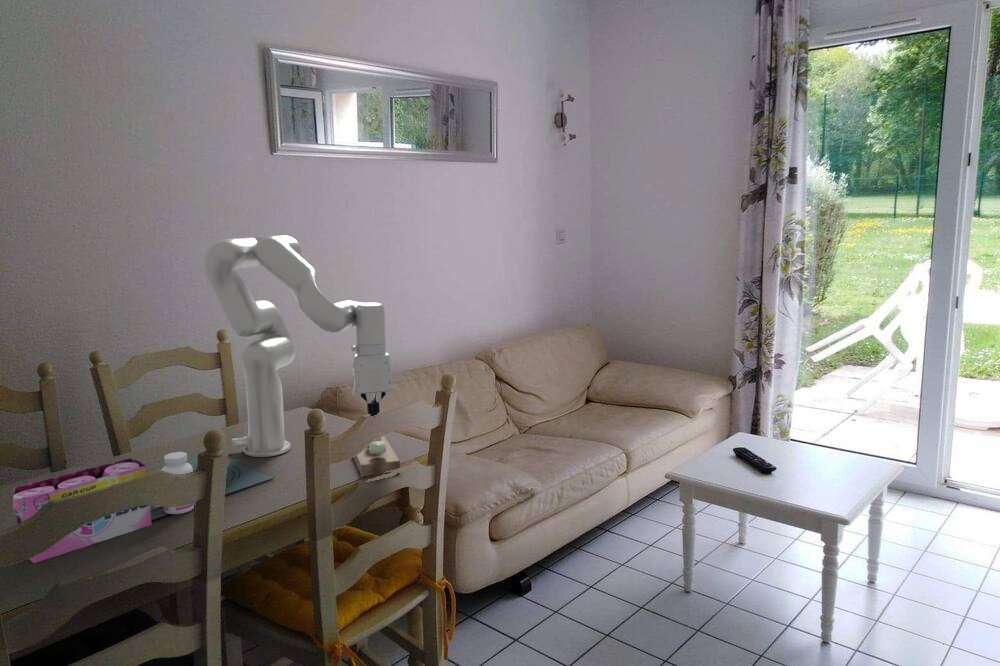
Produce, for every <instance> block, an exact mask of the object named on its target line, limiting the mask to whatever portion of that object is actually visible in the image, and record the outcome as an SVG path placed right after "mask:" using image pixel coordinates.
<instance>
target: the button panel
mask: <svg viewBox="0 0 1000 666" xmlns="http://www.w3.org/2000/svg"><path fill="white" fill-rule="evenodd" d="M381 441H382V442H385V443H386V452H385V453H382V454H372V453H370V452H369V446H368V447H367V448H366V449H365V450H364V451H362V452H361V453H360V454H358V455H356V456H355V457H354V458H353V461H354V460H355V461H354V462H356V463H355V465H356V464H357V465H356V467H357V466H358V468H359V470H358V471H360V472H359V474H360V473H361V474H360V476H361V475H366V476H367V477H368V476H376V475H382V474H381V473H384V472H386V471H390V470H394V469H397V468H400V469H401V461H400V458H399V457H398V456H397V454H396V451H394V449H393V447H392V446H391V444H390V443H389V441H388V440H387V438H386V436H385V435H384V436H383V437H381ZM358 468H357V469H358ZM366 476H365V477H366Z"/></svg>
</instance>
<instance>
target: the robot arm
mask: <svg viewBox="0 0 1000 666" xmlns="http://www.w3.org/2000/svg"><path fill="white" fill-rule="evenodd" d="M261 267H263V268H264V269H266V270H267V271H268V272H269V273H270V274H272V275H273V276H274V277H275V278H276V279H277V280H278V281H279V282H281V283H282V284H283V285H284V286H285V287H286V288H287V289H289V290H290V291H291V292H292V294H293V296H294V300H295V301H296V303H297V306H299V308H300V310H301V311H302V313H303V314H304V315H305V316H306V317H307V318H309V320H310V321H312V322H313V323H314V324H315V325H316V326H317V327H319V328H320V329H322V331H324V332H326V333H330V334H339V333H342V332H345V331H347V330H350V329H351V330H352V329H354V328H355V330H356V336H355V337H356V344H355V345H353V346H351V348H350V350H351V352H356V354H354V357H353V367H352V387H353V389H352V396H353V397H354V398H355V397H356V398H362V399H363V400H364V402H366V403H367V405H366V407H367V410H366V411H367V415H369V416H370V417H371V416H374V415H377V414H380V403H381V401H382V399H383V398H384V397H385V396H387V395H391V394H393V393H394V389H393V387H394V386H393V385H394V383H393V381H394V380H393V369H392V364H391V363H392V362H391V357H390V354H389V353H388V352H387V349H386V348H387V347H386V345H387V344H386V320H385V319H386V318H385V317H386V316H385V307H384V305H383V304H382V303H379V302H360V301H354V300H343V301H338V302H335V303H333V301H331V300H330V299H328V298H327V297H326V296H325V295H324V294H323V293H322V291H321V290H320V289H319V288H318V287H317V284H316V277H317V272H316V271H317V270H316V269H315V268H314V267H313V266H312V265H311V264H309V262H308V261H306V260H305V259H304V258H303V257H302V247H301V245H300V243H299V242H298V241H297V239H295V238H293V237H292V236H289V235H271V236H254V237H237V238H236V237H234V238H233V237H232V238H224V239H221V240H217V241H216V242H214V243H213V244H212V245H210V246H209V248H208V249H207V250H206V253H205V255H204V258H203V270H204V274H205V277H206V279H207V281H208V284H209V286H210V287H211V289H212V290H213V292H214V294H215V296H216V298H217V301H218V302H219V306H220V307H221V309H222V312H223V313H224V316H225V319H226V320H227V323H228V324H229V327H230V328H231V330H232V332H233V333H234V335H235V336H237V337H238V338H242V339H249V338H254V337H256V336H257V340H254V341H252V342H250V343H249V344H247V345H246V347H244V349H243V350H242V352H241V356H240V360H241V361H240V363H241V368H242V372H243V376H244V381H245V393H246V394H245V395H246V409H247V410H246V411H247V427H248V428H247V429H248V433H247V435H246V436H243V437H240V438H239V437H236V438H235V437H234V438H231V446H236V448H239V447H240V448H241V447H243V453H244V454H245V455H247V456H250V457H255V458H269V457H276V456H280V455H282V454H285V453H287V452H289V450H291V445H292V444H291V442H289V441H288V440H286V439H285V419H284V416H285V415H284V400H283V399H284V398H283V396H284V395H283V386H282V385H283V384H282V382H281V381H282V380H281V378H280V376H279V373H278V370H279V369H280V370H281V368H284V367H287V366H288V365H290V364H291V363H292V362H293V361H294V359H295V356H296V351H297V350H296V346H295V343H294V340H293V338H292V335H291V333H290V331H289V329H288V327H287V325H286V323H285V320H284V318H283V316H282V314H281V312H280V310H279V309H278V308H277V306H275V304H273V303H272V302H270V301H269V300H263V299H258V300H255V298H254V296H253V295H252V293H251V291H250V288H249V286H248V285H247V283H246V282H245V280H244V279H243V278H242V277H241V276H240V275H239V274H238V270H243V269H251V268H261ZM372 394H374V396H373V397H374V398H373V399H372ZM374 417H375V416H374Z"/></svg>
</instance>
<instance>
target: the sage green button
mask: <svg viewBox="0 0 1000 666" xmlns="http://www.w3.org/2000/svg"><path fill="white" fill-rule="evenodd" d="M369 452H370V453H372V454H382V453H385V452H386V443H385V442H382V441H375V442H372V443H371V444H369Z"/></svg>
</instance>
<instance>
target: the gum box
mask: <svg viewBox="0 0 1000 666" xmlns="http://www.w3.org/2000/svg"><path fill="white" fill-rule="evenodd" d="M145 475H148V476H149V471H148V465H147V464H145V463H144V462H142V461H139V460H138V459H136V458H133V457H130V458H124V459H119V460H117V461H112V462H109V463H105V464H101V465H97V466H93V467H90V468H89V467H88V468H85V469H81V470H78V471H73V472H70V473H66V474H62V475H57V476H53V477H50V478H46V479H42V480H37V481H34V482H33V481H32V482H31V483H26V484H23V485H18V486H16V487H14V488H13V490H12V491H13V493H12V496H13V497H12V508H13V511H14V514H15V519H16V526H17V525H18V524H20V523H21V522H23V521H25V520H27V519H28V518H30V517H31V516H33V515H34V514H35V513H36V512H38V511H39V509H40V508H41V507H42V506H44V505H46V504H47V503H49V502H50V501H52V500H55V499H60V498H66V497H72V496H77V495H81V494H85V493H88V492H92V491H95V490H99V489H103V488H106V487H109V486H112V485H114V484H118V483H122V482H125V481H129V480H132V479H135V478H138V477H142V476H145ZM152 525H153V522H152V511H151V505H150V506H142V507H137V508H132V509H128V510H125V511H122V512H118V513H114V514H111V515H109V516H105V517H103V518H101V519H98V520H96V521H94V522H91V523H88V524H86V525H83V526H81V527H79V528H78V529H76V530H75V531H73V532H72V533H70V534H69V535H67V536H66V537H64V538H63V539H62V540H60V541H59V542H58V543H56V544H55V545H54V546H52V547H51V548H49V549H48V550H46V551H45V552H43V553H41V554H39V555H37V556H35V557H33V558H31V559H28V560H29V561H31V562H32V563H33V564H36V563H37V564H38V563H39V562H42V561H45V560H49V559H51V558H55V557H58V556H62V555H65V554H67V553H70V552H73V551H76V550H80V549H83V548H86V547H88V546H89V547H90V546H92V545H95V544H97V543H101V542H104V541H107V540H110V539H113V538H116V537H119V536H122V535H125V534H128V533H132V532H134V531H137V530H140V529H143V528H146V527H147V528H148V527H149V526H152Z"/></svg>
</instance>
